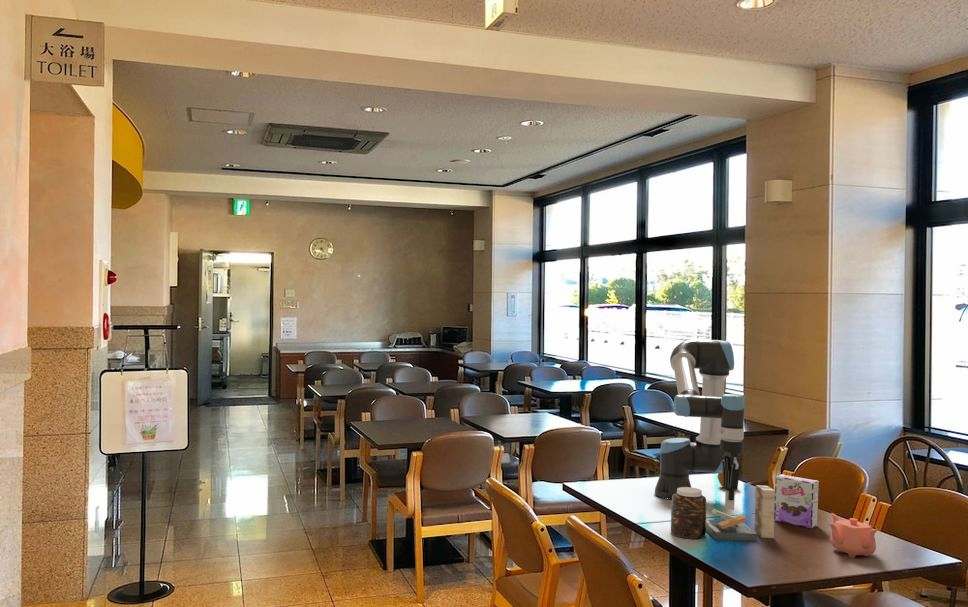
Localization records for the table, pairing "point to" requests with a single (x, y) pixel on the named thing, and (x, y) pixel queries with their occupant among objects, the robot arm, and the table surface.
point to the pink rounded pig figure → (852, 537)
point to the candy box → (796, 501)
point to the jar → (688, 513)
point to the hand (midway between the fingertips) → (729, 508)
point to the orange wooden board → (732, 521)
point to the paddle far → (722, 514)
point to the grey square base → (730, 531)
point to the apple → (721, 479)
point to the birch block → (764, 511)
